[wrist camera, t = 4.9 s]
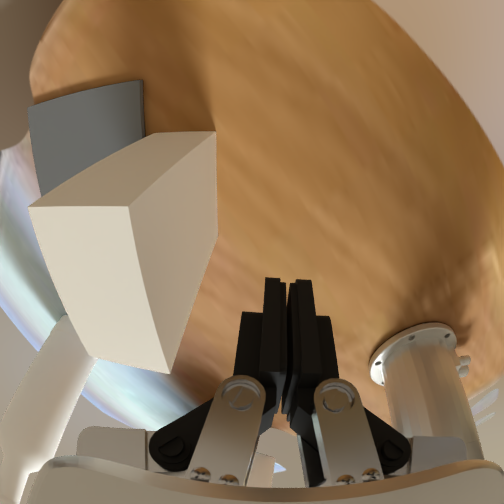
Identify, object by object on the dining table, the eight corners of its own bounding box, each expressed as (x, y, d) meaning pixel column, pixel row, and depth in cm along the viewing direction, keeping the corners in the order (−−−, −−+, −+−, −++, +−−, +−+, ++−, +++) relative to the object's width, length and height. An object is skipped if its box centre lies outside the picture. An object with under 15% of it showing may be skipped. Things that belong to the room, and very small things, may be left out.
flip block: (216, 131, 20) (128, 206, 8) (218, 235, 25) (170, 374, 13) (153, 133, 20) (26, 207, 9) (163, 232, 25) (88, 355, 14)
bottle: (102, 327, 34) (18, 524, 9) (106, 357, 38) (41, 525, 13) (56, 305, 33) (-38, 480, 8) (64, 338, 37) (-10, 491, 12)
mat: (142, 79, 18) (139, 79, 18) (162, 272, 28) (160, 276, 27) (31, 106, 19) (27, 107, 18) (64, 261, 29) (61, 264, 28)
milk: (207, 451, 58) (191, 541, 37) (238, 445, 53) (224, 548, 31) (243, 463, 62) (233, 545, 40) (275, 457, 57) (267, 549, 35)
